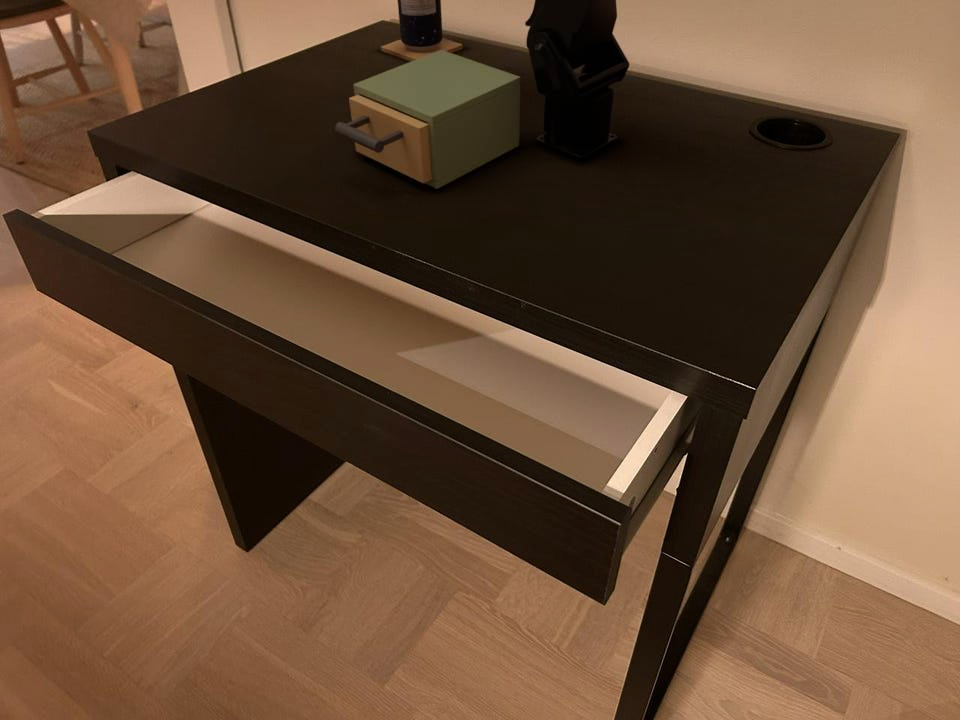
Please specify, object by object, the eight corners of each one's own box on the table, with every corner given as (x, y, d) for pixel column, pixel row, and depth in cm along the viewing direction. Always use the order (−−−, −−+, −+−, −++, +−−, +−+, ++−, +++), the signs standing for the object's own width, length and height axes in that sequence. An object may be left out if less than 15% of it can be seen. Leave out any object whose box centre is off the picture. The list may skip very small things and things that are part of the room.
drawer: (394, 198, 72) (389, 142, 68) (327, 164, 77) (318, 110, 73) (501, 143, 80) (501, 90, 76) (433, 115, 85) (430, 65, 81)
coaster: (462, 48, 103) (462, 44, 103) (420, 65, 99) (420, 61, 98) (423, 35, 107) (422, 31, 107) (380, 51, 103) (380, 46, 103)
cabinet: (436, 189, 75) (432, 116, 70) (361, 153, 81) (352, 84, 76) (519, 145, 82) (520, 76, 76) (444, 115, 87) (441, 49, 82)
